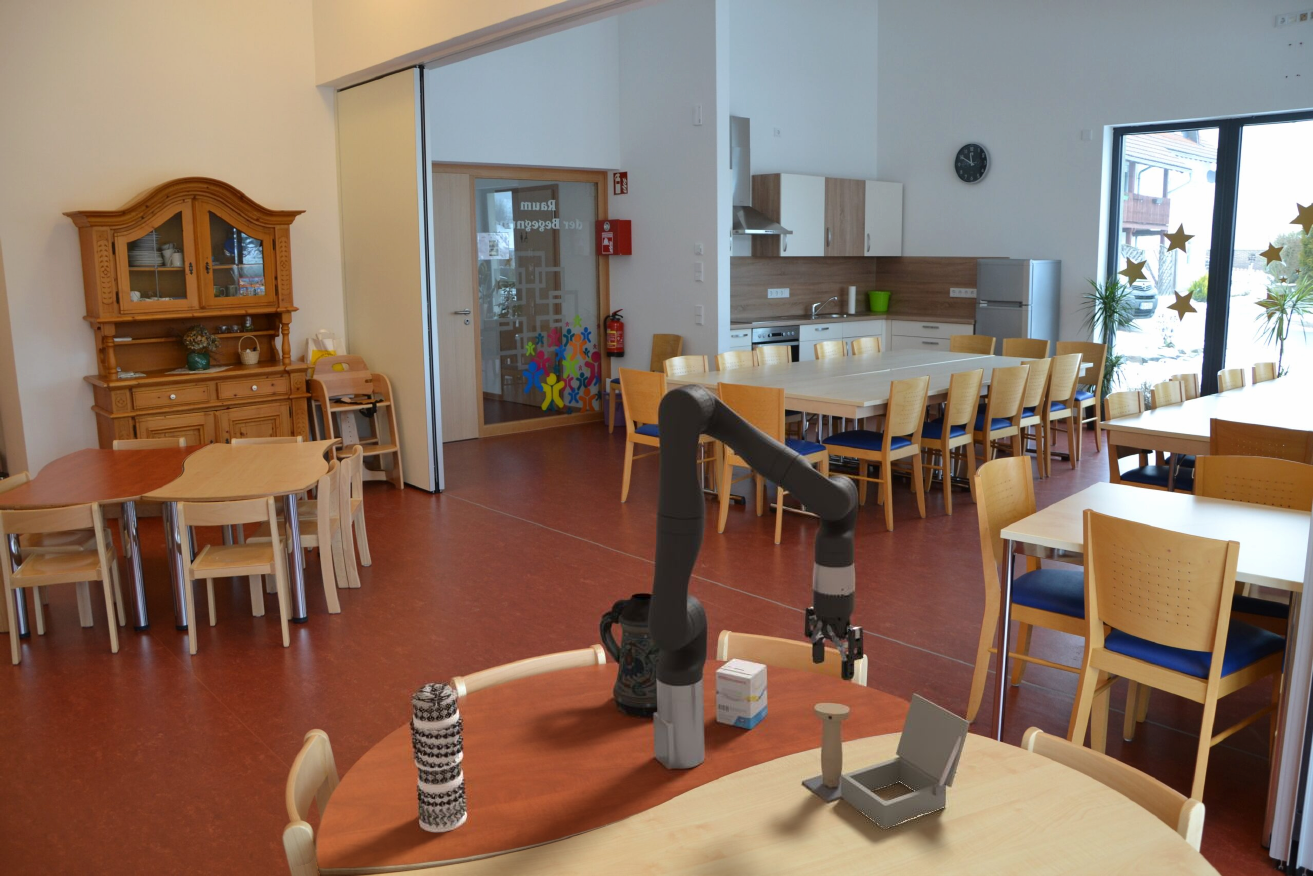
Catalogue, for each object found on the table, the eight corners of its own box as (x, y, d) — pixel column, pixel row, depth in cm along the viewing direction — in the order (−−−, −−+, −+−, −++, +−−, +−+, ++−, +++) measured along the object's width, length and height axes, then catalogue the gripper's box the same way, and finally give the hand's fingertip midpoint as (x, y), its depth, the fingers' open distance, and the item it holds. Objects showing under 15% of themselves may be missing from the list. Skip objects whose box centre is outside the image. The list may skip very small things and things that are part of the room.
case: (888, 832, 169) (889, 746, 166) (837, 795, 181) (838, 714, 179) (967, 804, 177) (970, 721, 175) (914, 770, 189) (915, 692, 187)
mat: (827, 802, 179) (827, 800, 179) (802, 783, 186) (802, 781, 186) (862, 791, 183) (862, 789, 182) (835, 772, 190) (835, 770, 189)
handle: (847, 793, 181) (847, 715, 179) (812, 788, 183) (812, 711, 181) (850, 780, 186) (851, 705, 183) (816, 776, 188) (816, 701, 185)
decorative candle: (444, 839, 171) (434, 704, 166) (406, 824, 175) (396, 693, 171) (479, 814, 178) (471, 684, 174) (442, 801, 183) (433, 674, 179)
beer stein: (686, 718, 214) (684, 608, 210) (597, 720, 215) (593, 610, 210) (685, 686, 231) (683, 584, 226) (603, 688, 231) (599, 586, 227)
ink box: (768, 715, 215) (768, 664, 213) (750, 730, 208) (750, 678, 206) (733, 706, 219) (733, 657, 217) (715, 721, 212) (714, 670, 210)
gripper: (793, 579, 182) (793, 661, 185) (841, 601, 170) (840, 689, 172) (826, 572, 186) (825, 653, 188) (875, 593, 173) (874, 680, 176)
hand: (832, 670), depth 180 cm, fingers open, 8 cm apart
